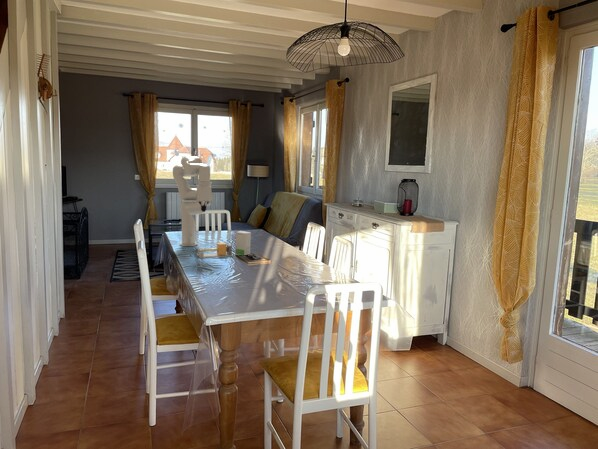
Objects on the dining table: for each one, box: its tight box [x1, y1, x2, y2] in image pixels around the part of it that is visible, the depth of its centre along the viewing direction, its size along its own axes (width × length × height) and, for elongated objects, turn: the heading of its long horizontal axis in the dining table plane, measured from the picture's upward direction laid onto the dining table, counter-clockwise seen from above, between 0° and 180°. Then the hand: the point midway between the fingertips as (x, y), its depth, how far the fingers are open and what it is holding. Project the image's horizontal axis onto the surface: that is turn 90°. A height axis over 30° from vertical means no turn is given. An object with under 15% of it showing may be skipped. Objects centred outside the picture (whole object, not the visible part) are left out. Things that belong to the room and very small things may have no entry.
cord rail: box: [196, 244, 234, 259], centre depth 292 cm, size 10×22×6 cm, turn 115°
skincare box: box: [234, 230, 252, 256], centre depth 296 cm, size 8×7×16 cm
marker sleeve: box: [216, 242, 227, 255], centre depth 294 cm, size 5×5×7 cm
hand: (203, 211), depth 298 cm, fingers closed
